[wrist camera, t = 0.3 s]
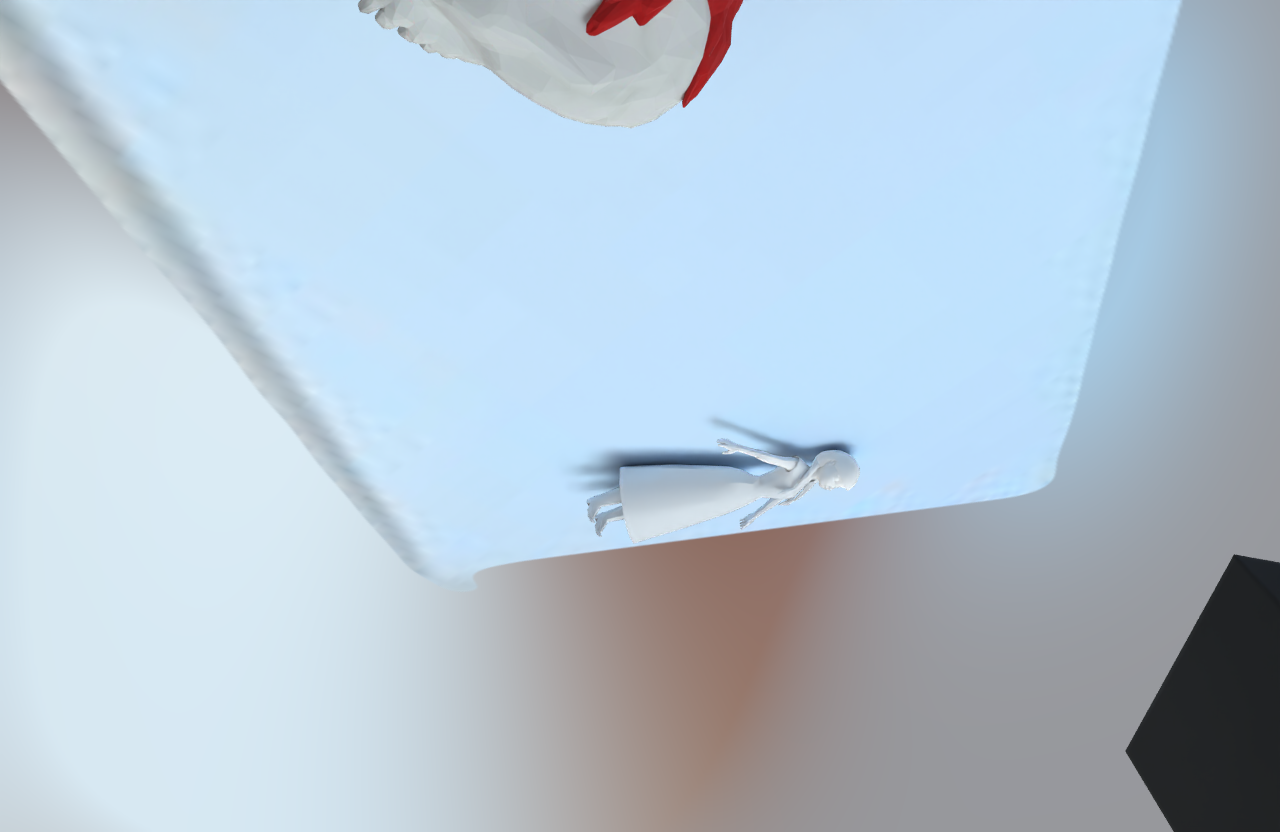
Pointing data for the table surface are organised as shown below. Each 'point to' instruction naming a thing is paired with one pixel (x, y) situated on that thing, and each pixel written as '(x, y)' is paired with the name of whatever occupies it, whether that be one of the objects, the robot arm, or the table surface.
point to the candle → (577, 49)
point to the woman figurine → (713, 490)
